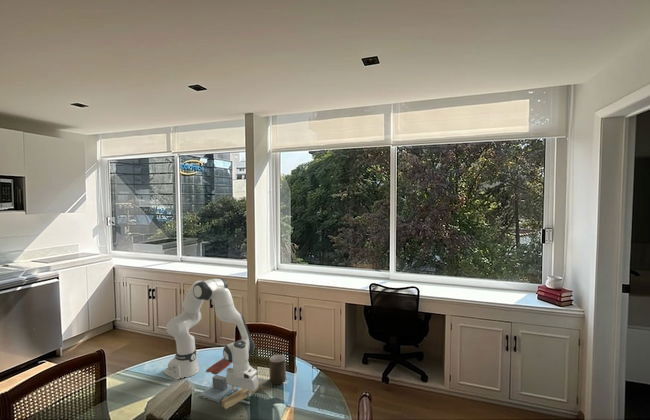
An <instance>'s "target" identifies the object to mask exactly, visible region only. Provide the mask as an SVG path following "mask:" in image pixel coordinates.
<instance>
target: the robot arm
mask: <svg viewBox="0 0 650 420" xmlns="http://www.w3.org/2000/svg"><path fill="white" fill-rule="evenodd" d="M228 286H229V285H228V282H227V281H226V279H224V278H222V277H217V278H210V279H206V280H195V281H194V282H192V285H190V288H189V289H188V291H187V293H186V295H185V298H184V300H183V302H182V308H183V309H184V310H183V311H182V312H181V313H180V314H178V315H176V316H175V317H173V318H171V319H170V321H168V323H167V324H166V327H165V328H166V332H167V333H168V335H170V336H172V337H173V338H174V340H175V347H176V351H175V352H174V354H173V355H175V356H174V357H173V358H172V359H170V361H169V362H168V363H167V368H165V369H164V371H163V374H164V375H167V376H168V377H171V378H172V379H175V380H181V379H185V378H184V377H186V378H191V377H192V376H195V375H196V374H198V372H199V371H200V367H199V366H200V363H199V362H198V355H197V348H196V339H195V335H193V334H190V329H191V328H193V327H195V326H196V325H198V323H199V322H200V321H201V320H202V313H201V308H202V305H203V303H204V301H209V300H212V302H213V307H214V311H215V315H216V318H217V319H218V320H219V321H221V322H224V323H231V324H234V325H236V326H237V328H238V331H239V334H240V337H241V339H239V340H236V341H232V342H231V343H228V344H226V345H225V346H224V347H223V351H222V356H223V358H224V359H225V360H227V361H228V362H231V364H232V367H228V368H226V375H225V377H226V383H227V384H229V385H232V388H233V393H235V392H237V391H238V388H240V389H242V388H244V389H247V390H248V391H249V392H248V393H247V396H248V397H251V396H252V394H251V392H252V391H255V390H256V389H257V388H258V381H259V379H258V375H257V374H258V370H257V369H255V368H253V367H252V366H251V365H250V362H249V357H250V355H252V354H253V353H254V351H255V349H256V345H255V342H254V339H253V338H252V336H251V334H250V331H249V329H248V325H247V323H246V321H245V318H244V316H243V314H242V312H241V311H238V310H237V308H236V306H235V304H234V303H235V302H234V299H233V296H232V293H231V291H230V289H229V287H228ZM180 378H181V379H180ZM236 387H237V388H236Z"/></svg>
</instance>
